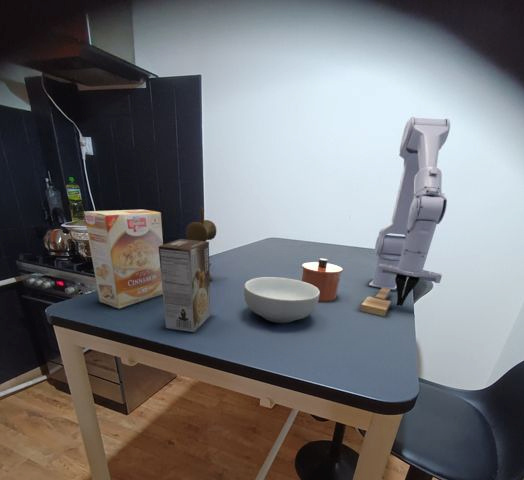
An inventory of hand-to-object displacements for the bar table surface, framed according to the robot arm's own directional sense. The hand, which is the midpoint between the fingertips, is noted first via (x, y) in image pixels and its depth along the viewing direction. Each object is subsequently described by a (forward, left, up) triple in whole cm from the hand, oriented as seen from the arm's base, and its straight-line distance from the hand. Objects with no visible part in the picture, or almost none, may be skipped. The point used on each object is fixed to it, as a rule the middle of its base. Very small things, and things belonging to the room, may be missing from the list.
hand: (399, 304), depth 83 cm
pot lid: (+3, -21, +6) cm, 22 cm away
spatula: (-1, -5, -1) cm, 6 cm away
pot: (+3, -21, -1) cm, 22 cm away
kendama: (+12, -54, -2) cm, 56 cm away
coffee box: (+39, -37, -2) cm, 54 cm away
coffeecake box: (+35, -57, -1) cm, 67 cm away
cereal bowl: (+24, -23, -2) cm, 34 cm away
